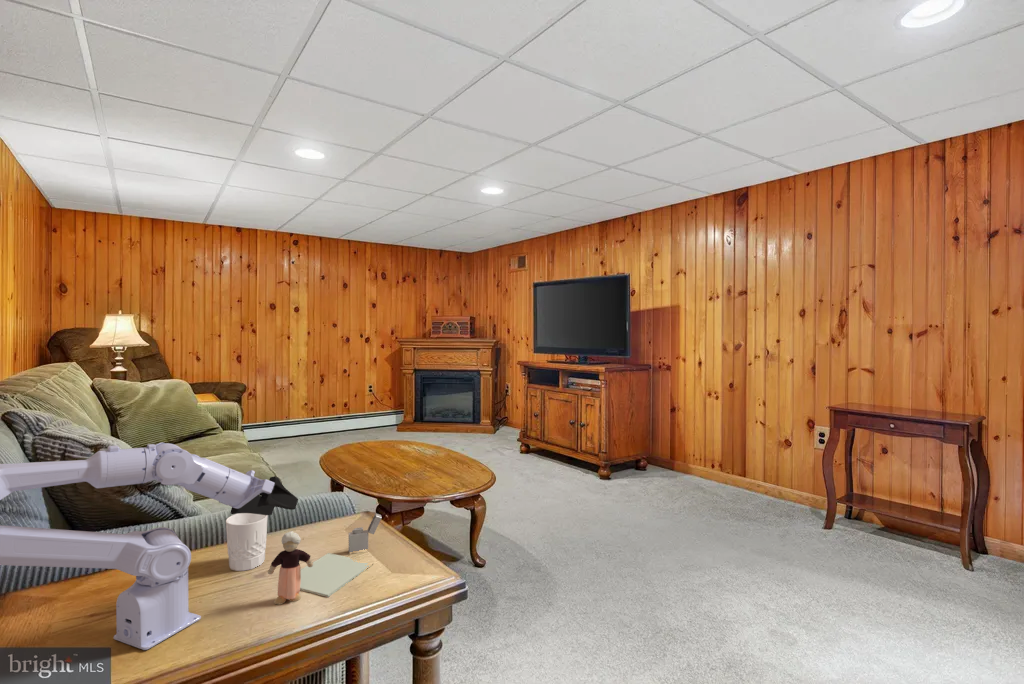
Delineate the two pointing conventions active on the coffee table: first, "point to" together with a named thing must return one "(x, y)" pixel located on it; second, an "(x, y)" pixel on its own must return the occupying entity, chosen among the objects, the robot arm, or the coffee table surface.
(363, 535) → the lighter
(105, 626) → the coffee table surface
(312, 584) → the mat
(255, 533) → the white cup
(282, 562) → the grandmother figurine
